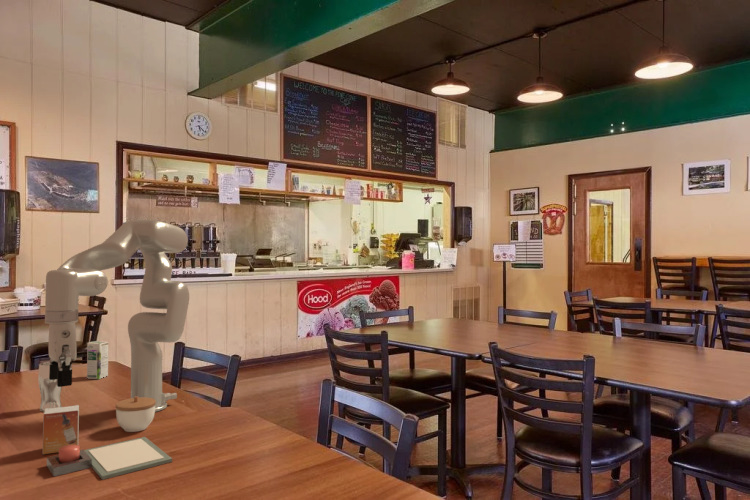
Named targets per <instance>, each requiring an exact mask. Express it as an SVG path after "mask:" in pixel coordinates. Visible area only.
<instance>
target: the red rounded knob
mask: <svg viewBox="0 0 750 500" xmlns="http://www.w3.org/2000/svg"><path fill="white" fill-rule="evenodd" d="M80 448H81V446H80V444H78V445H67V446H63V447H61V448H60V449H59V452H58V455H59V462H60V463H67V462H72V461H76V460H79V459H80V450H81V449H80Z"/></svg>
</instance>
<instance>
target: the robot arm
mask: <svg viewBox="0 0 750 500" xmlns="http://www.w3.org/2000/svg"><path fill="white" fill-rule="evenodd" d="M188 239H189V238H188V235H187V232H186V231H185V230H184V229H183V228H182V227H180V226H176V225H174V224H171V223H168V222H165V221H162V220H157V219H132V220H131V219H130V220H128V221H126V222H124V223H123V224H122V225H120V226H119V227H118V228H117V230H115V231H114V232H113V233H112V234H111V235H110V236H108V238H106V239H105V240H104V241H103V242H101V243H100V244H97V245H94V246H92V247H90V248H88V249H85V250H83V251H81V252H78V253H77V254H74V255H73V256H71V257H70V258H68V259H67V260H66V261H65V262H64V263H63V264H61V265H60V266H59V267H58V268H57V269H53V270H49V271H47V273H46V276H45V300H44V302H45V303H44V304H45V305H44V309H45V310H44V324H46V325H49V326H48V327H49V328H48V346H47V347H48V357H49V362H50V364H52V365H50V370H49V379H50V380H55V379H57V386H58V387H62V388H63V387H69V386H72V385H73V362H75V361H76V360H77V332H76V331H77V330H76V328H77V327H76V323H78V322H79V300H80V297H94V296H95V297H96V296H98V295H100V294H102V293H103V292H105V290H106V289H107V287H108V285H109V284H108V283H109V280H108V277H107V275H106V274H105V272H103V271H104V270H109V269H113V268H117V267H120V266H122V265H125V264H126V262H128V260H129V259H131V257H132V256H134V254H135V253H136V252H138V250H139V251H140V253H141V254H142V257H143V260H144V264H145V269H144V275H143V280H142V283H141V284H142V285H141V288H140V289H141V290H140V294H139V303H140V305H141V306H142V307H144V308H145V309H151V310H166V312H154V311H153V312H152V311H149V312H148V311H143V312H138V313H135V314H133V315H132V316H131V317H130V318H129V320H128V323H127V334H128V337H129V343H130V357H131V358H130V398H134V397H135V396H138V398H139V397H147V398H153V399H155V400H156V404H155V413H156V412H160V411H162V410H164V409H166V408H167V407H168V400H175V399H177V398H178V394H177V392H172V393H170V392H163V351H162V348H161V346H160V344H159V343H171V344H172V343H175V342H178V341H179V340H180V339H181V337H182V335H183V333H184V329H185V326H186V325H185V324H186V320H187V314H188V309H189V305H190V303H189V301H190V291H189V287H188V285H186V283H184V282H183V281H179V280H172V273H173V266H172V263H171V261H170V259H169V257H168V256H167V255H166V254H167V253H168V254H177V253H182V252H183V251H184V250H185V249H186V248H187V245H188V243H189V240H188ZM72 361H73V362H72Z"/></svg>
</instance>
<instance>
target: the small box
mask: <svg viewBox="0 0 750 500" xmlns="http://www.w3.org/2000/svg"><path fill="white" fill-rule="evenodd" d="M42 419H43V420H42V423H43V424H42V425H43V426H42V455H47V454H48V455H49V454H54V453H59V449H60V448H61V447H63V446H67V445H79V434H80V433H79V423H80V421H79V420H80V405H79V404H75V405H69V406H61V407H59V408H47V409H45V412H43V418H42Z"/></svg>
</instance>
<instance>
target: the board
mask: <svg viewBox="0 0 750 500" xmlns="http://www.w3.org/2000/svg"><path fill="white" fill-rule="evenodd" d="M83 450H84V451H85V452H86V453H87V454H88V455H89V456H90V458H91V459H92V468H91V469H93V472H95V473H96V474H97V475H98V477H99V478H100V479H101V480H102V481H103V480H107V479H110V478H115V477H118V476H122V475H126V474H131V473H134V472H138V471H142V470H146V469H149V468H153V467H158V466H161V465H165V464H168V463H172V462H173V458H172V457H171V456H170V455H169V454H167V453H166V452H165V451H163V450H162V449H161V448H160V447H159V446H157V445H156V444H155V443H154V442H152V441H151V440H150V439H149V438H147V437H146V436H142V437H137V438H133V439H129V440H125V441H119V442H114V443H110V444H107V445H101V446H96V447H93V448H92V447H91V448H87V449H83Z"/></svg>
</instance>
